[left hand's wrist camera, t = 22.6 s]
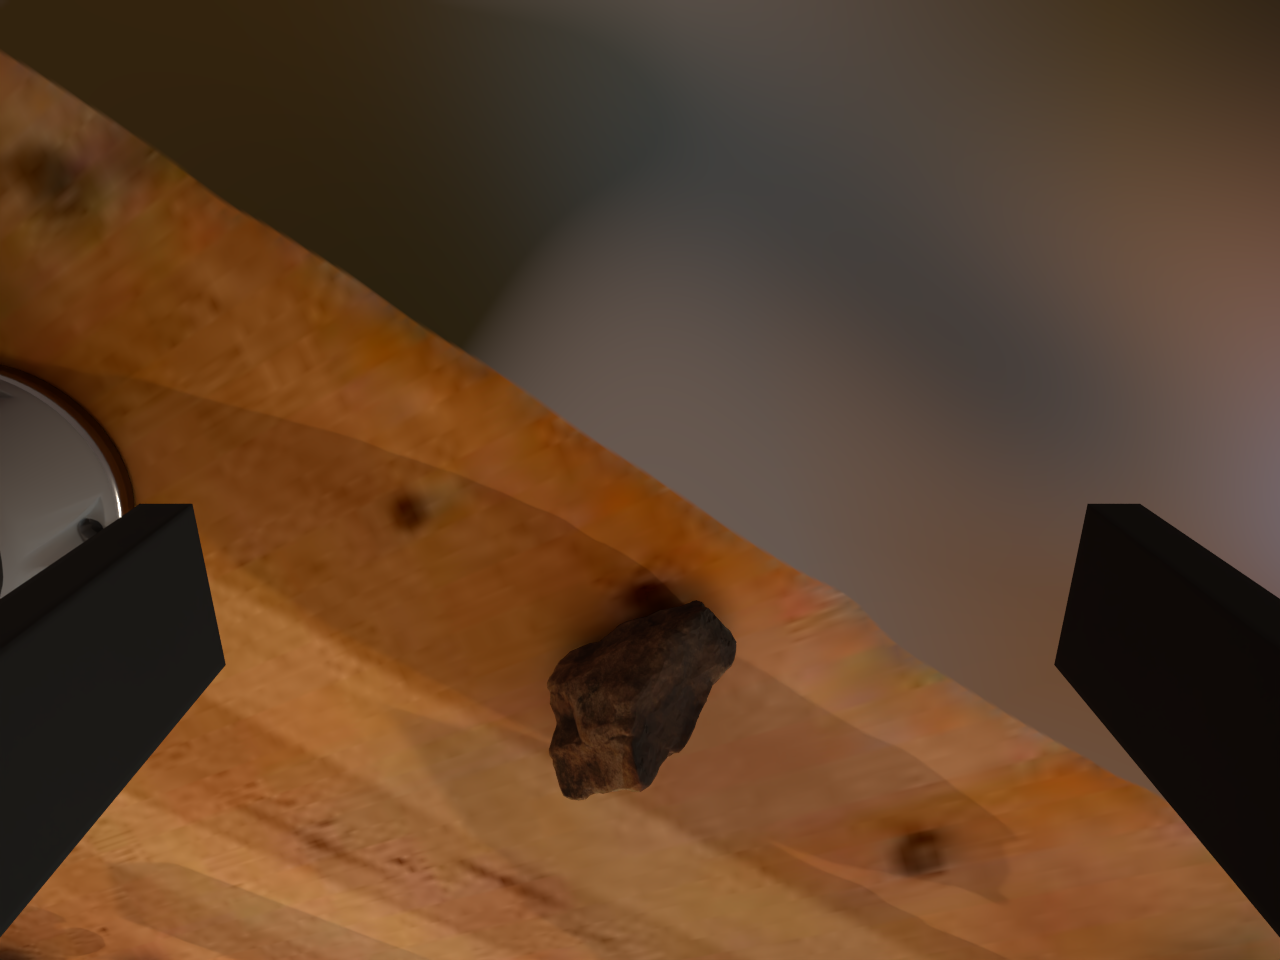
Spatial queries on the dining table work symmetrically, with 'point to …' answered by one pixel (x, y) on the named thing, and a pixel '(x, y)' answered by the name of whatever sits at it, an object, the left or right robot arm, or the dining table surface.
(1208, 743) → the left robot arm
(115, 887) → the dining table surface
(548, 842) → the dining table surface
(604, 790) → the decorative rock
